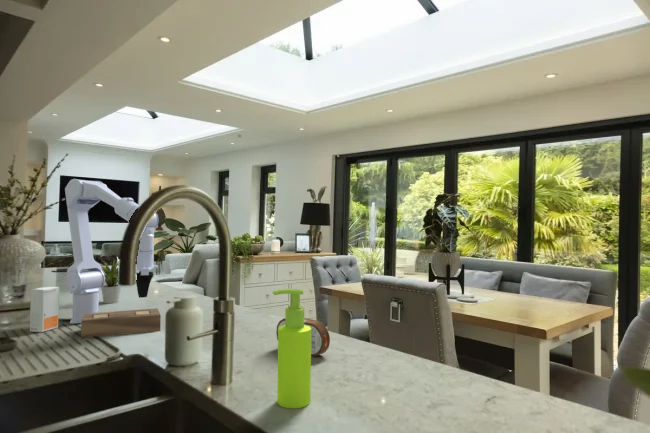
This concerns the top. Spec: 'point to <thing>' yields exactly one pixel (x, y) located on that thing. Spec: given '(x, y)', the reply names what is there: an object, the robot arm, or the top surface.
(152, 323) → the walnut block
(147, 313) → the far maple peg
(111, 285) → the house plant
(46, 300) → the skincare box
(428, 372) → the top surface
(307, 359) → the soap dispenser
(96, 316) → the near maple peg
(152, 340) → the top surface
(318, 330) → the tin
